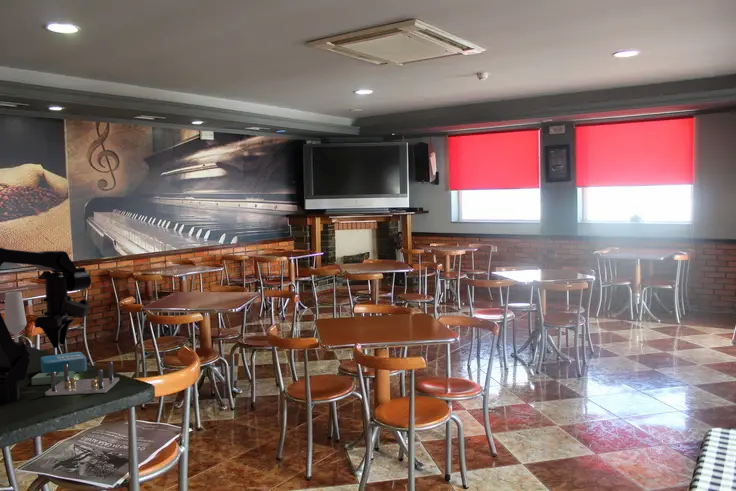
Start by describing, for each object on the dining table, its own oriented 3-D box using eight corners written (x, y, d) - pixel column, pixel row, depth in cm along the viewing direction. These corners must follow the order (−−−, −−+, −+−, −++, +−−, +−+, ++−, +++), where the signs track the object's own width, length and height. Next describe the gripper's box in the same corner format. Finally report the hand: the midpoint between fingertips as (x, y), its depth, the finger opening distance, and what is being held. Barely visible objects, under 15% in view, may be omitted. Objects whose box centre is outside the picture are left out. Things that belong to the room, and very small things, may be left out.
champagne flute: (33, 360, 211) (29, 291, 210) (16, 365, 205) (12, 293, 203) (18, 359, 213) (14, 291, 212) (1, 364, 207) (-3, 293, 205)
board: (68, 383, 181) (67, 374, 181) (32, 386, 179) (31, 376, 179) (74, 378, 186) (73, 369, 186) (38, 381, 184) (38, 372, 184)
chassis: (105, 392, 169) (104, 371, 169) (45, 395, 167) (44, 374, 167) (119, 380, 181) (118, 360, 181) (63, 383, 179) (61, 363, 179)
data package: (80, 351, 202) (87, 357, 192) (81, 364, 203) (87, 371, 193) (39, 356, 196) (44, 363, 186) (40, 370, 196) (45, 378, 186)
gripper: (74, 296, 171) (77, 351, 172) (95, 288, 190) (98, 338, 190) (32, 298, 170) (35, 353, 171) (57, 290, 188) (60, 340, 189)
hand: (59, 346), depth 180 cm, fingers open, 4 cm apart
